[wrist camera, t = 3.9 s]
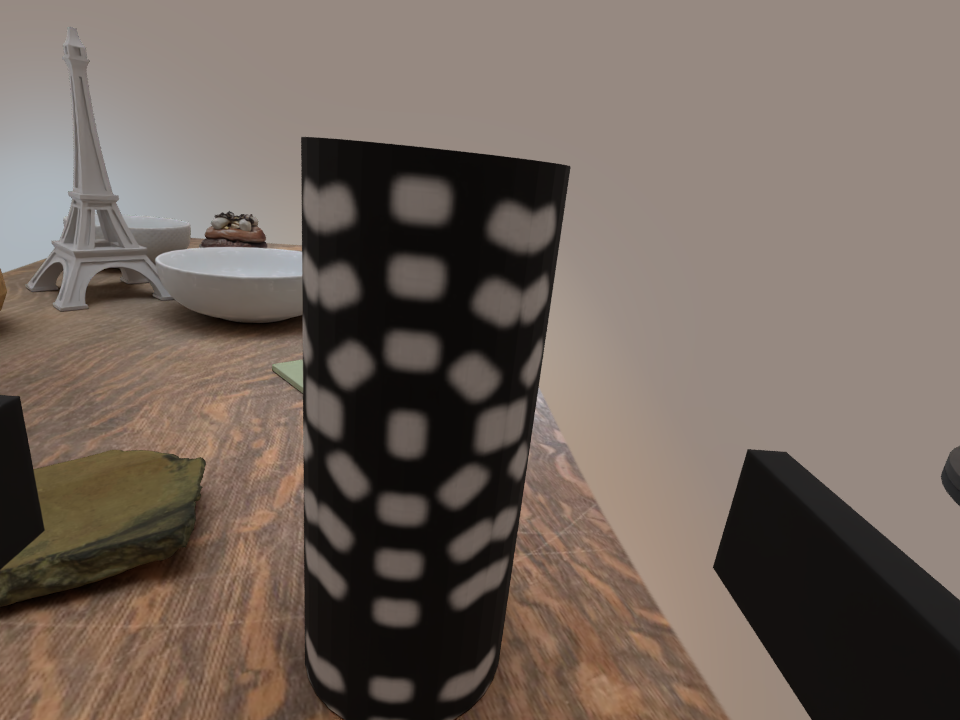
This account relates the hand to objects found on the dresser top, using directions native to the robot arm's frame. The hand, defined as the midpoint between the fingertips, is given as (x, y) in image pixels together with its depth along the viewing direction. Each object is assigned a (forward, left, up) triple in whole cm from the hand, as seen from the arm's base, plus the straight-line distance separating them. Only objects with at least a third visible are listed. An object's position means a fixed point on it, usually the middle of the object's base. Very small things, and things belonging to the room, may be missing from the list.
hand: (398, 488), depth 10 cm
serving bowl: (-20, -59, -14) cm, 64 cm away
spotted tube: (-6, -7, -14) cm, 17 cm away
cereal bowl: (-14, -93, -14) cm, 95 cm away
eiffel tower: (-7, -75, -14) cm, 77 cm away
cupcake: (-25, -80, -14) cm, 85 cm away
